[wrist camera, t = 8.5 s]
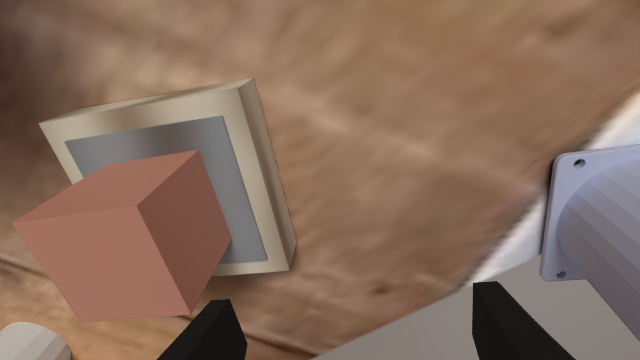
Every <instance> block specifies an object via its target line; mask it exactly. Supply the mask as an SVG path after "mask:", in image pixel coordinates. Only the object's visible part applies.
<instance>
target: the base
mask: <svg viewBox="0 0 640 360" xmlns="http://www.w3.org/2000/svg"><path fill="white" fill-rule="evenodd" d="M38 124H39V125H40V127H41V129H42V131H43V133H44V134H45V136H46V138H47V140H48V142H49V143H50V145H51V147H52V149H53V150H54V152H55V154H56V156H57V158H58V159H59V161H60V163H61V165H62V166H63V168H64V170H65V172H66V174H67V175H68V177H69V179H70V181H71V182H72V184H75V183H76V182H78V181H80V180H81V179H83V178H84V177H86V176H88V175H89V174H91V173H93V172H94V171H96V170H97V169H99V168H101V167H102V166H104V165H108V164H114V163H120V162H126V161H133V160H139V159H145V158H151V157H157V156H163V155H169V154H176V153H182V152H188V151H194V150H199V151H200V154H201V157H202V159H203V162H204V165H205V167H206V170H207V173H208V175H209V178H210V181H211V183H212V186H213V189H214V191H215V194H216V197H217V199H218V202H219V204H220V207H221V210H222V212H223V215H224V218H225V220H226V223H227V226H228V228H229V231H230V234H231V236H232V239H231V241H230V243H229V244H228V246H227V248H226V250H225V252H224V254H223V256H222V257H221V259H220V261H219V263H218V265H217V267H216V269H215V270H214V272H213V274H212V276H211V277H215V276H228V275H240V274H253V273H265V272H278V271H289V270H290V266H291V262H292V258H293V254H294V250H295V246H296V239H295V235H294V232H293V228H292V224H291V220H290V216H289V212H288V209H287V205H286V201H285V197H284V193H283V189H282V185H281V182H280V178H279V174H278V170H277V166H276V162H275V159H274V155H273V151H272V147H271V143H270V139H269V136H268V132H267V128H266V124H265V120H264V116H263V113H262V109H261V105H260V101H259V97H258V93H257V90H256V86H255V82H254V78H250V79H244V80H239V81H233V82H228V83H222V84H216V85H211V86H205V87H200V88H194V89H189V90H183V91H177V92H172V93H166V94H161V95H155V96H149V97H144V98H138V99H133V100H127V101H121V102H116V103H110V104H105V105H99V106H93V107H88V108H82V109H77V110H74V111H71V112H69V113H66V114H63V115H60V116H57V117H55V118H52V119H49V120H46V121H44V122H41V123H38Z"/></svg>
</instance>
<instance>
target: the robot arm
mask: <svg viewBox="0 0 640 360" xmlns="http://www.w3.org/2000/svg"><path fill="white" fill-rule="evenodd" d="M579 159H581V161H580V163H579V164H577V165H575V166H574V163H575V161H577V160H579ZM561 271H562V272H561ZM558 272H560V273H558ZM540 275H541V277H542V278H543V279H544V280H545V281H563V280H578V279H587V280H588V282H589V283H590V284H591V285H592V286H593V287H594V289H595V290H596V291H597V292H598V293H599V294H600V295H601V297H602V298H603V299H604V300H605V301H606V303H607V304H608V305H609V306H610V307H611V308H612V310H613V311H614V312H615V313H616V314H617V315H618V317H619V318H620V319H621V320H622V321H623V322H624V324H625V325H626V326H627V327H628V328H629V330H630V331H631V332H632V333H633V334H634V335H635V337H636V338H637V339H638V340H639V341H640V144H637V145H629V146H620V147H612V148H604V149H596V150H587V151H579V152H571V153H564V154H561V155H559V156H558V157H557V158H556V159H555V160H554V163H553V170H552V178H551V185H550V193H549V201H548V209H547V217H546V224H545V232H544V240H543V248H542V256H541V264H540ZM472 319H473V320H472V335H473V339H474V342H475V346H476V349H477V353H478V356H479V359H480V360H576V359H574V358H573V357H572V356H571V355H570V354H569V353H568V352H567V351H566V350H565V349H564V348H563V347H562V346H561V345H560V344H558V342H557V341H555V340H554V339H553V338H552V337H551V336H550V335H549V334H548V333H547V332H546V331H545V330H544V329H543V328H542V327H541V326H540V325H539V324H538V323H537V322H536V321H535V320H534V319H533V318H532V317H531V316H530V315H529V314H528V313H527V312H526V311H525V310H524V309H523V308H522V307H521V306H520V305H519V303H518V302H517V301H516V300H515V299H514V298H513V297H512V296H511V295H510V294H509V293H508V292H507V291H506V290H505V289H504V288H503V286H502V285H501V284H500V283H498V282H497V281H494V282H478V283H473V318H472ZM246 349H247V342H246V339H245V337H244V334H243V332H242V329H241V327H240V324H239V322H238V319H237V317H236V314H235V312H234V309H233V307H232V304H231V302H230V299H225V300H211V301H210V302H209V304H208V305H207V306H206V307H205V308H204V309H203V310H202V311H201V312H200V313H199V314H198V315H197V316H196V317H195V319H194V320H193V321H192V322H191V323H190V324H189V325H188V326H187V327H186V329H185V330H184V331H183V332H182V333H181V334H180V335H179V336H178V337H177V338H176V339H175V341H174V342H173V343H172V344H171V345H170V346H169V347H168V348H167V349H166V350H165V351H164V352H163V353H162V355H161V356H160V357H159V358H158V359H157V360H245V355H246Z"/></svg>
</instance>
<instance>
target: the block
mask: <svg viewBox="0 0 640 360" xmlns="http://www.w3.org/2000/svg"><path fill="white" fill-rule="evenodd" d="M12 225H13V226H14V227H15V229H16V230H17V232H18V233H19V235H20V236H21V237H22V239H23V240H24V242H25V243H26V245H27V246H28V247H29V249H30V250H31V252H32V253H33V254H34V256H35V257H36V259H37V260H38V262H39V263H40V264H41V266H42V267H43V269H44V270H45V271H46V273H47V274H48V276H49V277H50V279H51V280H52V281H53V283H54V284H55V286H56V287H57V289H58V290H59V291H60V293H61V294H62V296H63V297H64V298H65V300H66V301H67V303H68V304H69V306H70V307H71V308H72V310H73V311H74V313H75V314H76V315H77V317H78V318H79V320H80V321H81V322H95V321H109V320H122V319H136V318H150V317H163V316H177V315H191V313H192V311H193V309H194V308H195V306H196V304H197V302H198V300H199V298H200V296H201V295H202V293H203V291H204V289H205V287H206V285H207V283H208V282H209V280H210V278H211V276H212V274H213V272H214V270H215V269H216V267H217V265H218V263H219V261H220V259H221V257H222V256H223V254H224V252H225V250H226V248H227V246H228V244H229V243H230V241H231V239H232V236H231V234H230V231H229V228H228V226H227V223H226V220H225V218H224V215H223V212H222V210H221V207H220V204H219V202H218V199H217V197H216V194H215V191H214V189H213V186H212V183H211V181H210V178H209V175H208V173H207V170H206V167H205V165H204V162H203V159H202V157H201V154H200V151H199V150H194V151H188V152H182V153H176V154H169V155H163V156H157V157H151V158H145V159H139V160H133V161H126V162H120V163H114V164H108V165H104V166H102V167H101V168H99V169H97V170H96V171H94V172H93V173H91V174H89V175H88V176H86V177H84V178H83V179H81V180H80V181H78V182H76V183H75V184H73V185H72V186H70V187H68V188H67V189H65V190H64V191H62V192H60V193H59V194H57V195H56V196H54V197H52V198H51V199H49V200H48V201H46V202H44V203H43V204H41V205H40V206H38V207H36V208H35V209H33V210H31V211H30V212H28V213H27V214H25V215H23V216H22V217H20V218H19V219H17V220H15V221H14V222H12Z"/></svg>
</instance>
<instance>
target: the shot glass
mask: <svg viewBox="0 0 640 360" xmlns="http://www.w3.org/2000/svg"><path fill="white" fill-rule="evenodd" d="M0 360H71V351H70V349H69V348H68V346H67V344H66V343H65V342H64V341H63V340H62V339H61V338H60V337H59V336H58V335H57V334H55V333H53V332H52V331H50V330H48V329H47V328H45V327H42V326H39V325H36V324H33V323H27V322H16V323H13V324H9V325H8V326H7V327H5V328H4V329H3V330H1V331H0Z"/></svg>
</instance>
